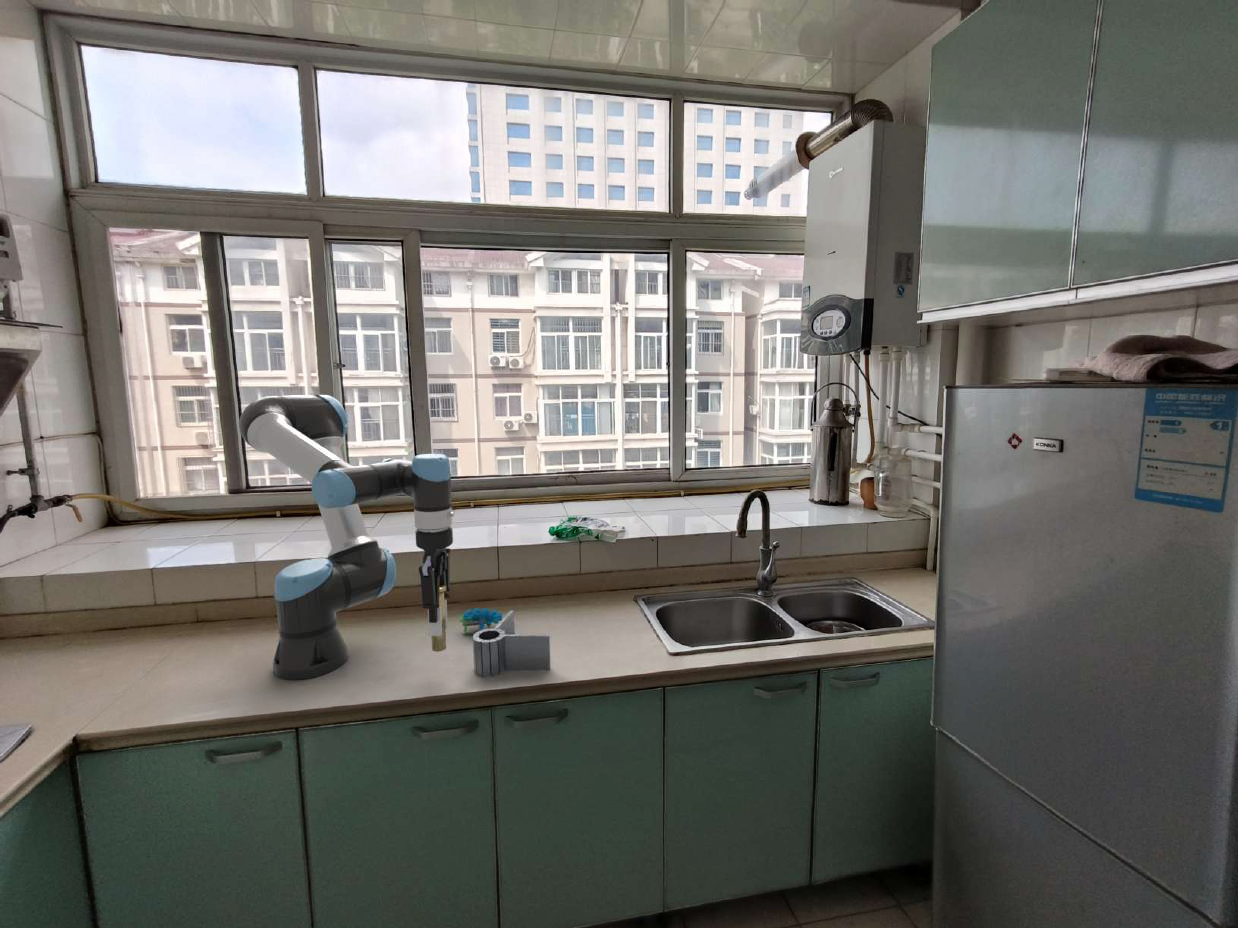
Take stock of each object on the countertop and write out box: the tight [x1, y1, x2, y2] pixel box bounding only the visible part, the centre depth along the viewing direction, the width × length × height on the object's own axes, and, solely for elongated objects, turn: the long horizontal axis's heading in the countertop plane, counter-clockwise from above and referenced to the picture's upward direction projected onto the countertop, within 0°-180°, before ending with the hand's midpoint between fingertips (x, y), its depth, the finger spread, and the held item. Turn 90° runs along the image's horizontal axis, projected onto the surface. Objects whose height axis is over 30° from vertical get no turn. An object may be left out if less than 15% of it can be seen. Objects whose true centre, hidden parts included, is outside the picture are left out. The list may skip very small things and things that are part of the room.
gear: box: [459, 607, 503, 636], centre depth 148 cm, size 11×6×10 cm
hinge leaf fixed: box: [472, 627, 551, 678], centre depth 129 cm, size 17×7×8 cm, turn 89°
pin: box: [430, 585, 447, 653], centre depth 125 cm, size 4×4×14 cm
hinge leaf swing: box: [494, 610, 516, 634], centre depth 138 cm, size 10×1×8 cm, turn 169°
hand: (438, 630), depth 126 cm, fingers closed on pin, 3 cm apart
